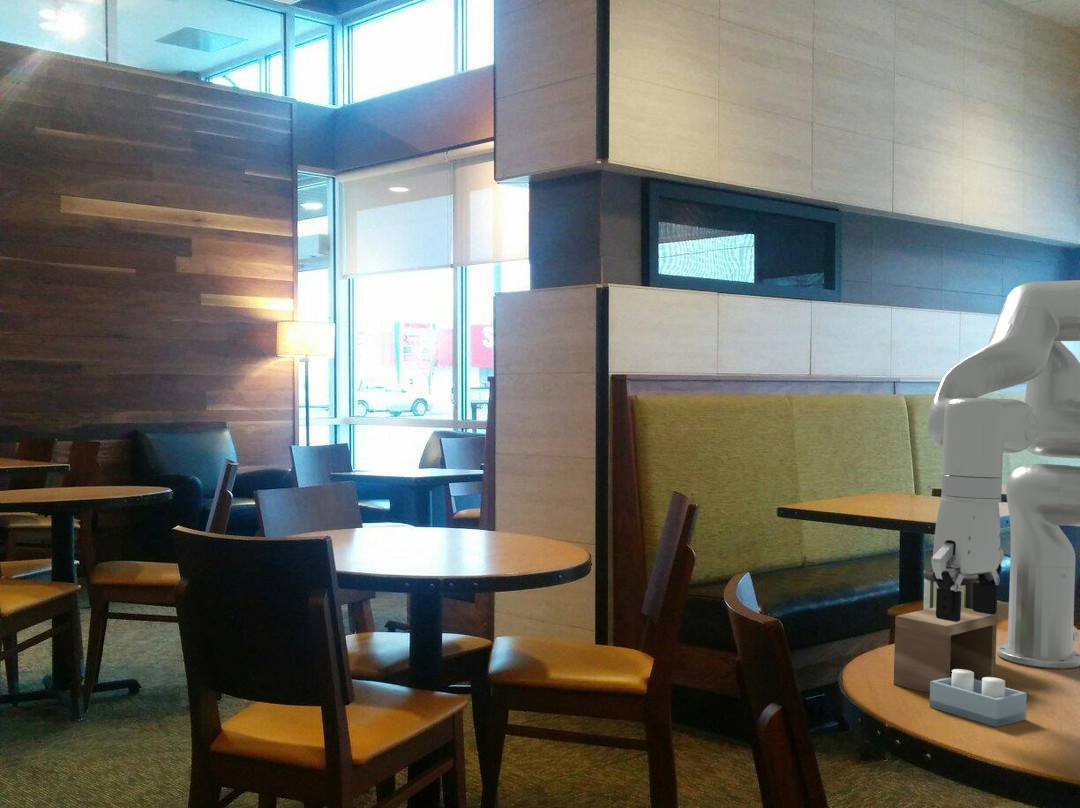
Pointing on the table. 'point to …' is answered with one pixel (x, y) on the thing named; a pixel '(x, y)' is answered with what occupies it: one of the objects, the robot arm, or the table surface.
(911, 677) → the wooden footstool
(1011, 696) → the tray
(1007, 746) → the table surface
